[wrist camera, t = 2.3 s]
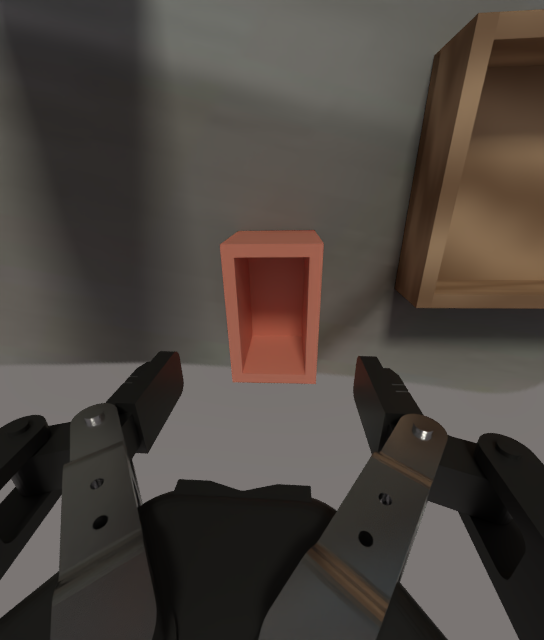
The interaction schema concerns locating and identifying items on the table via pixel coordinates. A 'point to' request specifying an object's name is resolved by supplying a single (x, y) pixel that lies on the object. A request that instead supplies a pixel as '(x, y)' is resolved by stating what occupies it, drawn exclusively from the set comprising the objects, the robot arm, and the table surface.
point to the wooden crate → (480, 172)
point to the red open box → (273, 304)
